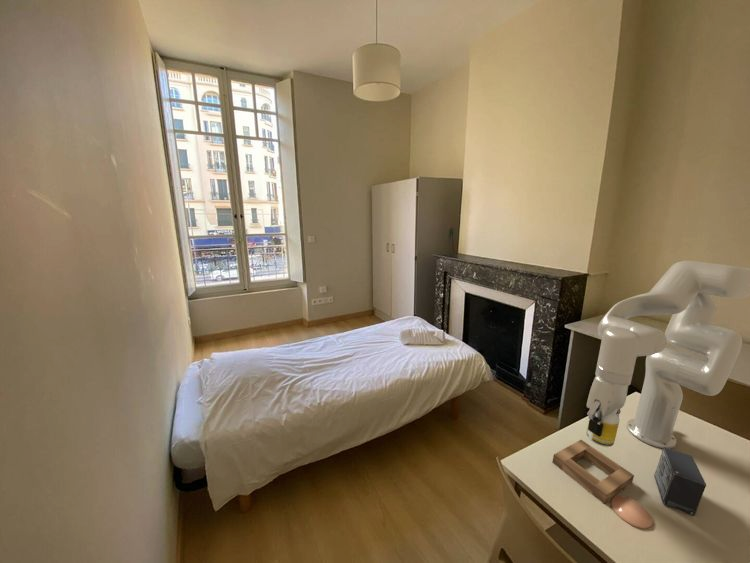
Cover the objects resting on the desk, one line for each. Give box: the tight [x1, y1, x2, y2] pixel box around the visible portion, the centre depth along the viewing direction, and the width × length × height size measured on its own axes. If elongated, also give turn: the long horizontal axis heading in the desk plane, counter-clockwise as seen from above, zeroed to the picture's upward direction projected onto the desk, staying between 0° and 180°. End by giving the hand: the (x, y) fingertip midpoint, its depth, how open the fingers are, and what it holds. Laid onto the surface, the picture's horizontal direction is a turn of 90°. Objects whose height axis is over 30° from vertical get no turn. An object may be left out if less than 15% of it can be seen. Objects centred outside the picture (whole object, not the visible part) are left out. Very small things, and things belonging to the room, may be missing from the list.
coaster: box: [610, 495, 653, 530], centre depth 77 cm, size 8×8×1 cm
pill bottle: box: [586, 409, 620, 448], centre depth 84 cm, size 6×6×12 cm
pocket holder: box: [552, 439, 635, 505], centre depth 88 cm, size 14×14×3 cm
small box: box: [653, 447, 707, 517], centre depth 80 cm, size 11×6×10 cm, turn 148°
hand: (602, 427), depth 84 cm, fingers closed on pill bottle, 6 cm apart
